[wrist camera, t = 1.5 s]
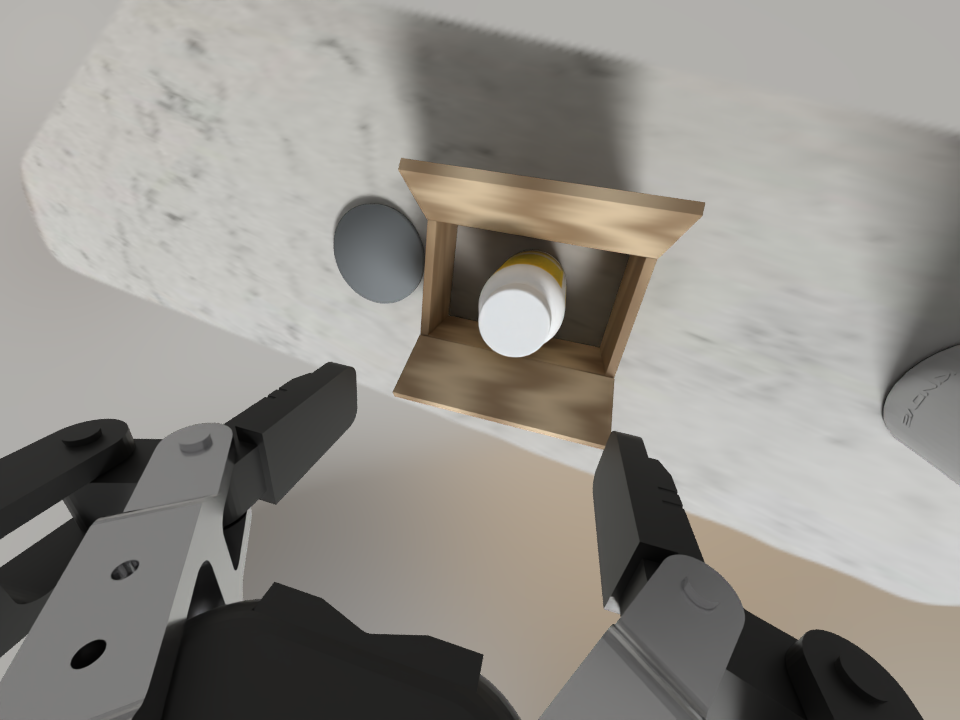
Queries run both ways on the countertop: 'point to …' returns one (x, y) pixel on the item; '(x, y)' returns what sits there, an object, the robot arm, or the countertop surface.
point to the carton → (557, 363)
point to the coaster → (379, 253)
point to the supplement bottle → (523, 303)
